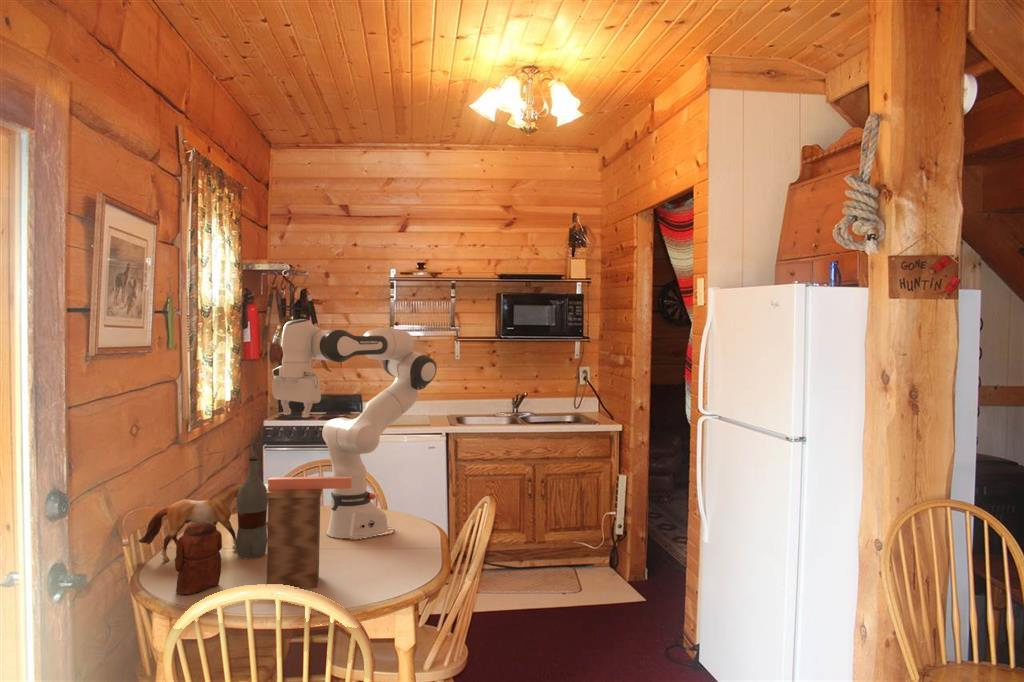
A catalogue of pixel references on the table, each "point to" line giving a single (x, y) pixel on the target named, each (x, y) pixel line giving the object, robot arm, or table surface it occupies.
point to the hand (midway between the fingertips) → (296, 415)
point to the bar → (309, 483)
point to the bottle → (252, 515)
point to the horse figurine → (194, 515)
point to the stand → (293, 537)
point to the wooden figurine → (198, 558)
